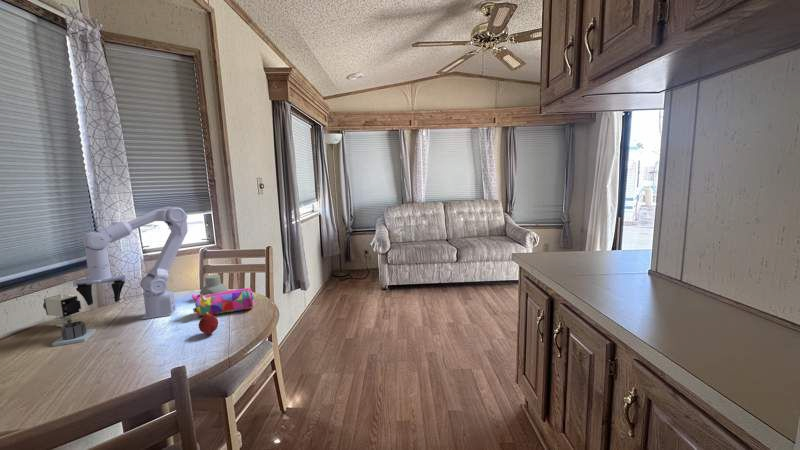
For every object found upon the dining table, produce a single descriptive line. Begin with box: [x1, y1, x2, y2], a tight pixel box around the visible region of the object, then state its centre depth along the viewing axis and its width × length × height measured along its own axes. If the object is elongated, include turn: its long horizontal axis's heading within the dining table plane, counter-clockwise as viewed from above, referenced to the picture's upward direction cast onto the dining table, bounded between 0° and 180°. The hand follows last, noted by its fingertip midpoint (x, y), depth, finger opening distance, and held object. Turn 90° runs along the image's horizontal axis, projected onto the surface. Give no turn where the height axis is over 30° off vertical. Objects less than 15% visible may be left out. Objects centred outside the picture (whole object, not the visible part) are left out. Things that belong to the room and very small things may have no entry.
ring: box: [60, 320, 87, 340], centre depth 110 cm, size 5×5×4 cm
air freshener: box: [199, 274, 228, 295], centre depth 148 cm, size 11×8×10 cm
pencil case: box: [191, 287, 255, 318], centre depth 131 cm, size 22×9×9 cm, turn 115°
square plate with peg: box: [52, 328, 97, 347], centre depth 110 cm, size 8×8×4 cm
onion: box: [198, 312, 219, 335], centre depth 111 cm, size 6×6×8 cm
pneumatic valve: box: [42, 293, 82, 328], centre depth 121 cm, size 6×12×12 cm, turn 77°
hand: (104, 302), depth 116 cm, fingers open, 7 cm apart
